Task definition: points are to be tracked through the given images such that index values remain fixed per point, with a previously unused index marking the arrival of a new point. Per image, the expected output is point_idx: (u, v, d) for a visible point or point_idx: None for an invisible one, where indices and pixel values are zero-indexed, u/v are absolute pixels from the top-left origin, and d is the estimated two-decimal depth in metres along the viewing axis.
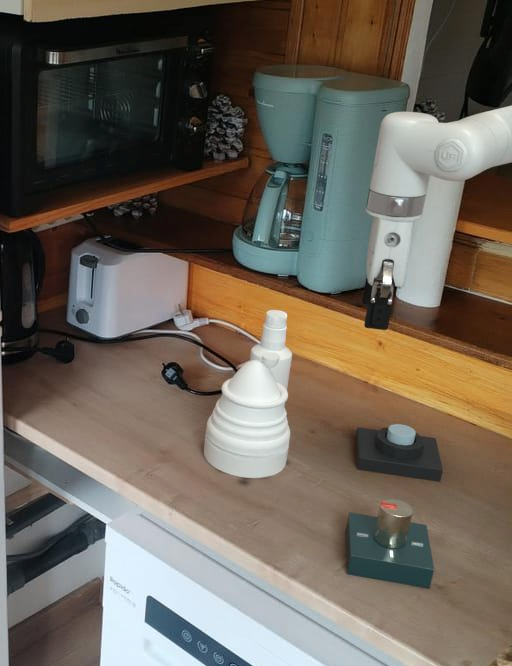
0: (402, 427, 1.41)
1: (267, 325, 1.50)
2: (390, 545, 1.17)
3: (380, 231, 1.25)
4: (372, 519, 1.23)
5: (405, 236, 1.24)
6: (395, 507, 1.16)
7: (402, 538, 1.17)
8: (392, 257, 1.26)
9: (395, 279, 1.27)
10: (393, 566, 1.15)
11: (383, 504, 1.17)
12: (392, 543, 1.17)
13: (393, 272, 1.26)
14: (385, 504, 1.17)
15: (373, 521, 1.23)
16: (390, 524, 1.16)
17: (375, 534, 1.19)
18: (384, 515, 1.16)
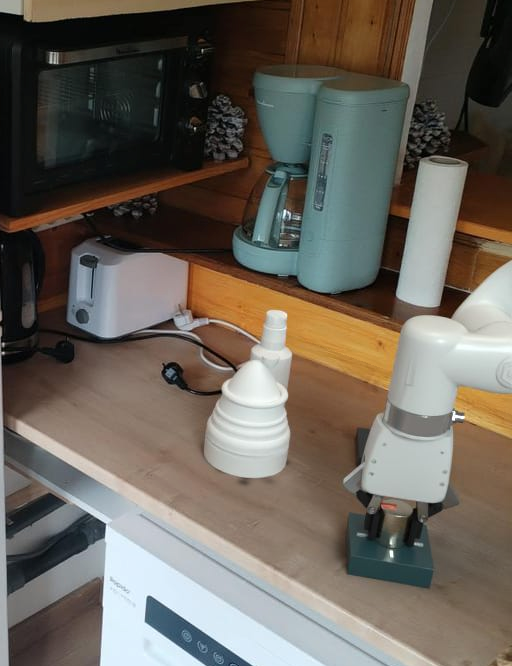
0: None
1: (267, 325, 1.50)
2: (390, 545, 1.17)
3: (451, 448, 1.09)
4: None
5: None
6: (395, 507, 1.16)
7: (402, 538, 1.17)
8: None
9: None
10: (393, 566, 1.15)
11: (383, 504, 1.17)
12: (392, 543, 1.17)
13: None
14: (385, 504, 1.17)
15: None
16: (390, 524, 1.16)
17: None
18: (384, 515, 1.16)
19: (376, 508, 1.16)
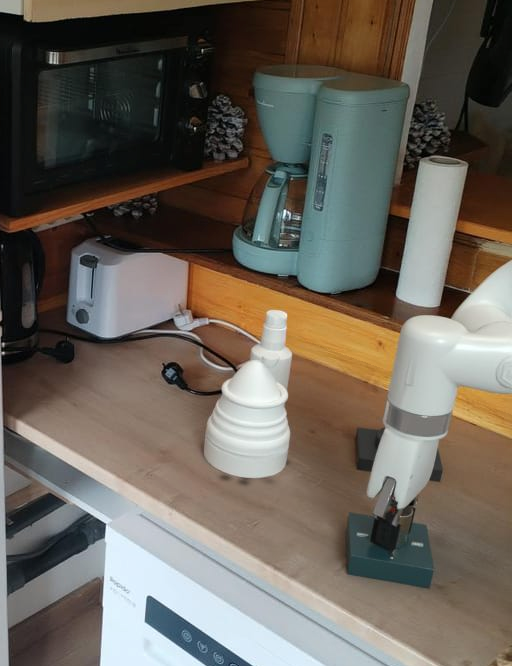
0: None
1: (267, 325, 1.50)
2: (405, 543, 1.17)
3: None
4: (372, 519, 1.23)
5: None
6: None
7: None
8: None
9: None
10: (393, 566, 1.15)
11: (392, 511, 1.15)
12: (405, 540, 1.17)
13: None
14: (393, 510, 1.16)
15: (373, 521, 1.23)
16: (407, 525, 1.16)
17: None
18: (400, 520, 1.15)
19: (399, 518, 1.14)
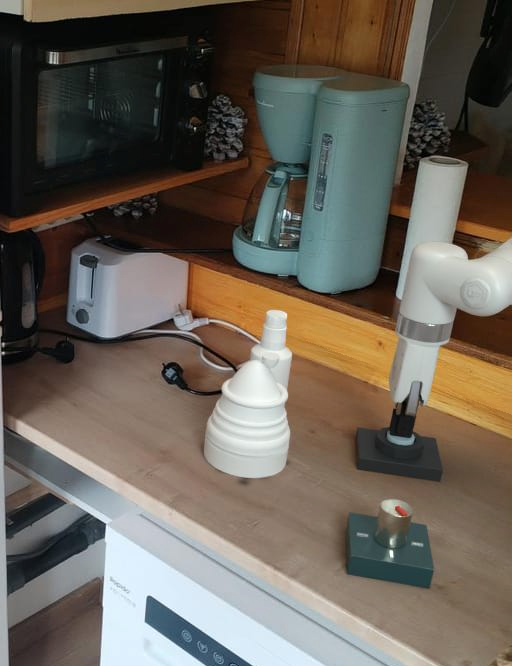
0: None
1: (267, 325, 1.50)
2: None
3: None
4: (372, 519, 1.23)
5: None
6: (399, 507, 1.16)
7: None
8: None
9: None
10: (393, 566, 1.15)
11: (405, 513, 1.15)
12: None
13: None
14: (404, 512, 1.15)
15: (373, 521, 1.23)
16: None
17: (402, 543, 1.17)
18: (411, 517, 1.16)
19: None
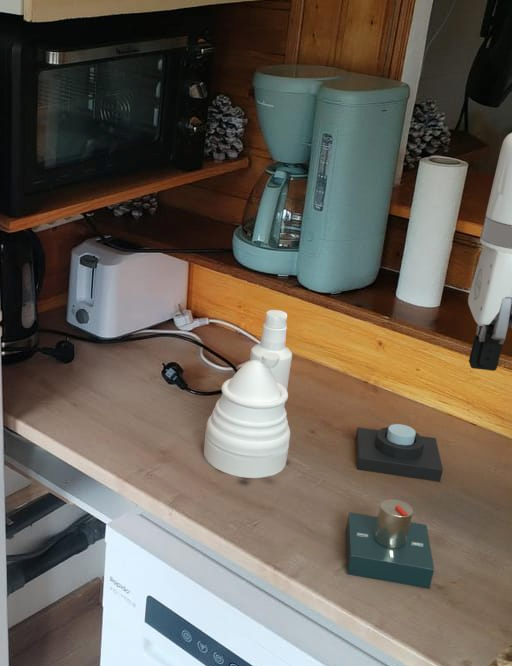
0: (402, 427, 1.41)
1: (267, 325, 1.50)
2: None
3: None
4: (372, 519, 1.23)
5: None
6: (399, 507, 1.16)
7: None
8: None
9: None
10: (393, 566, 1.15)
11: (405, 513, 1.15)
12: None
13: None
14: (404, 512, 1.15)
15: (373, 521, 1.23)
16: None
17: (402, 543, 1.17)
18: (411, 517, 1.16)
19: None
